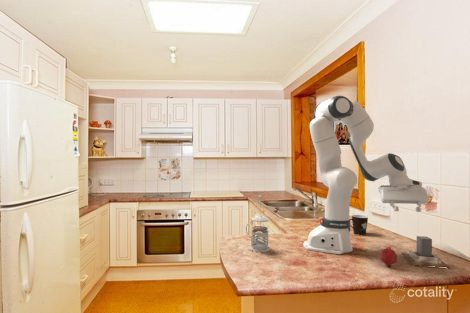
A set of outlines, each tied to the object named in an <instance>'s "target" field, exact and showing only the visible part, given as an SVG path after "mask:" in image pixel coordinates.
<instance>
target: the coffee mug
mask: <svg viewBox="0 0 470 313" xmlns="http://www.w3.org/2000/svg"><path fill="white" fill-rule="evenodd" d="M349 219H350V221H352V223H351V224H352V225H351V224H350V228H352V231H353V234H354V235H356V234H359V235H358V236H365V235H364V234H366V235H367V228H368V227H367V226H368V220H369V216H368V215H362V214H352V215H351V218H349Z"/></svg>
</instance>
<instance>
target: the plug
mask: <svg viewBox="0 0 470 313" xmlns="http://www.w3.org/2000/svg"><path fill="white" fill-rule="evenodd" d="M416 251H417V255H418V256H422V257H432V253H433V239H432V238H431V237H428V236H421V235H417V236H416Z"/></svg>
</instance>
